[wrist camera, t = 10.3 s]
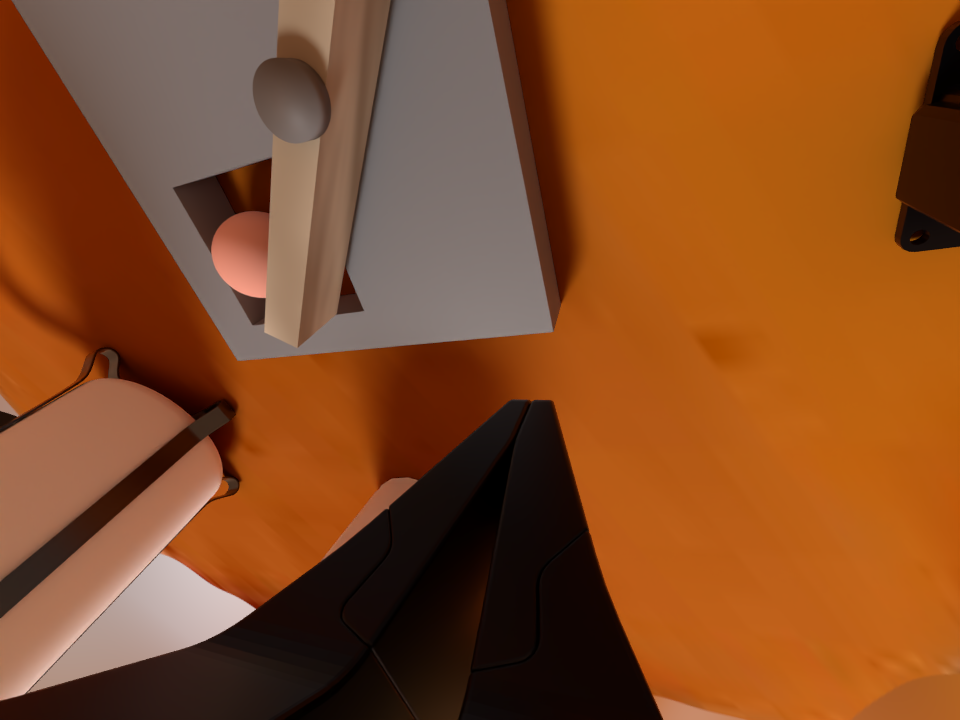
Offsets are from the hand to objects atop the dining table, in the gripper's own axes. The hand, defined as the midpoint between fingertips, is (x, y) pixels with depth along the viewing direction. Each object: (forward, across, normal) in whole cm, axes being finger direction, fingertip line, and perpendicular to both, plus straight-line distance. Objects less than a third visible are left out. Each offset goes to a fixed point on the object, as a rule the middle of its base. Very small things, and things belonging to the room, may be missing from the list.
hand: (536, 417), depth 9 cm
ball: (+10, +15, -1) cm, 18 cm away
